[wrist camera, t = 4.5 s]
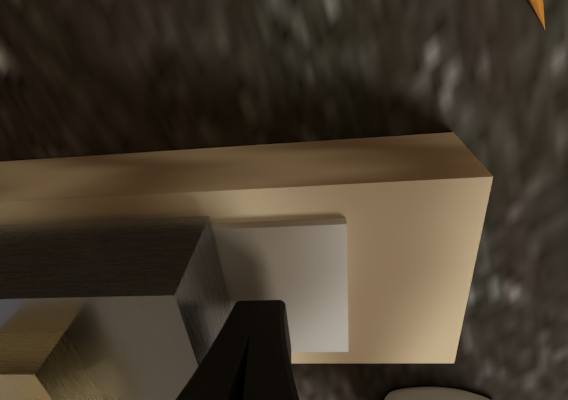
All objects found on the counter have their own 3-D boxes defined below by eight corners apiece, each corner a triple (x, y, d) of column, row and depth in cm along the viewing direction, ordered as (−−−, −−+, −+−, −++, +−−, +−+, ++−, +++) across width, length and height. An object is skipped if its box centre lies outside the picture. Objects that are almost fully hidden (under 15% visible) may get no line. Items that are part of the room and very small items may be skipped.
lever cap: (52, 364, 13) (-32, 489, 10) (-37, 227, 10) (-197, 341, 7) (244, 364, 13) (219, 499, 9) (209, 215, 10) (155, 338, 6)
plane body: (-20, 305, 17) (-86, 370, 14) (-117, 169, 14) (-229, 219, 11) (430, 297, 15) (456, 371, 12) (453, 132, 12) (498, 182, 9)
